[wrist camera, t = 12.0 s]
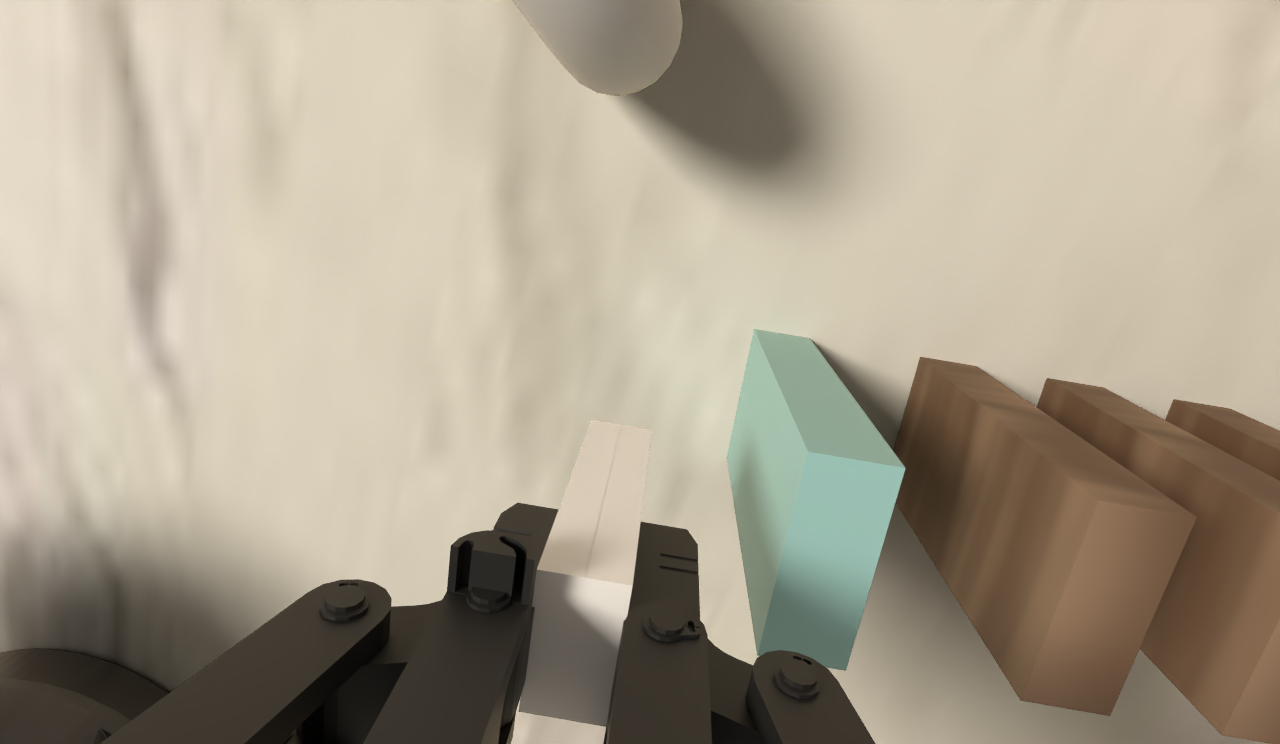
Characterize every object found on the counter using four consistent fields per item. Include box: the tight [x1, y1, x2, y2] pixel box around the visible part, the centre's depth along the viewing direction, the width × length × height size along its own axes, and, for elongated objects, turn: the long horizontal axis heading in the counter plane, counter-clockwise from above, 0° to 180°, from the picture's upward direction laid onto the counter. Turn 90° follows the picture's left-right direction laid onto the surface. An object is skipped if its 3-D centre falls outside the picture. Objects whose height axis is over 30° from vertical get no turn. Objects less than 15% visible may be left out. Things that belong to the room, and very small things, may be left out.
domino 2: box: [1037, 378, 1280, 744], centre depth 20 cm, size 2×5×11 cm, turn 171°
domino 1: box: [893, 357, 1197, 716], centre depth 20 cm, size 2×5×11 cm, turn 171°
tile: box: [727, 329, 905, 671], centre depth 20 cm, size 2×5×11 cm, turn 171°
